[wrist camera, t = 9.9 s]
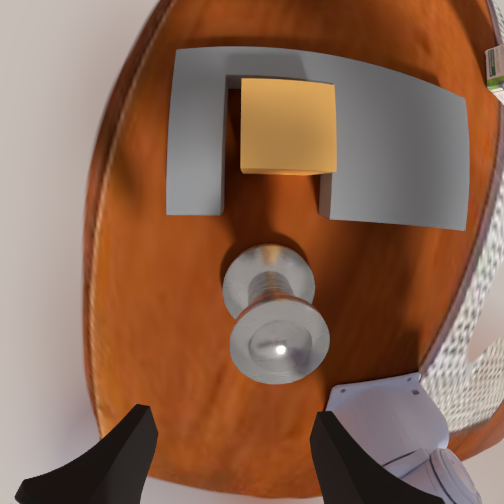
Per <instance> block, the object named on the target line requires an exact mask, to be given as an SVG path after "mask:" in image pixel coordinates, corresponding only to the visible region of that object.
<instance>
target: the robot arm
mask: <svg viewBox="0 0 504 504" xmlns="http://www.w3.org/2000/svg"><path fill="white" fill-rule="evenodd" d="M420 377H421V374H420V373H419V372H416V373H411V374H407V375H402V376H397V377H391V378H386V379H380V380H373V381H367V382H359V383H352V384H343V385H336V386H334V387H333V388H332V390H331V394H330V397H329V401H328V404H327V408H326V411H322V412H317V415H316V419H315V422H314V426H313V429H312V432H311V436H310V445H311V453H312V459H313V462H314V466H315V470H316V473H317V477H318V481H319V484H320V488H321V491H322V495H323V500H324V504H482V501H481V497H480V495H479V493H478V491H477V489H476V488H475V486H474V483H473V481H472V479H471V477H470V475H469V474H468V472H467V470H466V469H465V467H464V466H463V464H462V463H461V462H460V460H459V459H458V458H457V457H456V455H455V454H454V453H453V452H452V451H451V450H449V449H446V448H447V445H448V441H449V430H448V425H447V422H446V419H445V417H444V416H443V414H442V413H441V412H440V410H439V409H438V407H437V406H436V405H435V403H434V402H433V401H432V399H431V398H430V396H429V395H428V394H427V392H426V391H425V390H424V388H423V387H422V386H421V384H420V383H419V380H420ZM342 389H344V390H342ZM157 437H158V431H157V428H156V425H155V422H154V419H153V415H152V412H151V409H150V406H146V405H140V404H136V405H135V406H134V407H133V408H132V409H131V410H130V412H129V413H128V414H127V415H126V416H125V417H124V418H123V419H122V420H121V421H120V422H119V423H118V424H117V425H116V426H115V427H114V428H113V429H112V430H111V431H110V432H109V433H108V434H107V435H106V436H105V437H104V438H103V439H102V440H100V441H99V442H98V443H97V444H96V445H95V446H93V447H92V448H91V449H89V450H88V451H87V452H85V453H84V454H83V455H81V456H80V457H78V458H76V459H75V460H73V461H71V462H70V463H68V464H66V465H64V466H62V467H60V468H58V469H55V470H53V471H51V472H48V473H46V474H43V475H40V476H37V477H33V478H29V479H25V480H24V481H23V482H22V484H21V486H20V487H19V489H18V491H17V493H16V495H15V500H16V501H17V502H19V503H20V504H140V498H141V493H142V490H143V486H144V483H145V480H146V477H147V474H148V471H149V468H150V465H151V462H152V459H153V456H154V453H155V448H156V443H157Z"/></svg>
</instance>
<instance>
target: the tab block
mask: <svg viewBox="0 0 504 504" xmlns="http://www.w3.org/2000/svg"><path fill="white" fill-rule="evenodd" d="M240 168H241V171H242V173H243V174H283V175H314V174H323V173H332V172H336V169H337V139H336V104H335V85H331V84H324V83H315V82H306V81H295V80H281V79H257V78H242V86H241V163H240Z"/></svg>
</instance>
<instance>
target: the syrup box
mask: <svg viewBox="0 0 504 504" xmlns="http://www.w3.org/2000/svg"><path fill="white" fill-rule="evenodd" d="M485 55H486V69H487V88H488V89H489V90H490V91H491V92H492V93H493V94H494V95H495V96H496V97H497V98H498V99H499V100H500V102H501V103H502V104H503V105H504V44H502V45H499V46H497V47H493V48H491V49H488V50H486V51H485Z"/></svg>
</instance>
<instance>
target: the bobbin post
mask: <svg viewBox="0 0 504 504" xmlns="http://www.w3.org/2000/svg"><path fill="white" fill-rule="evenodd" d="M314 293H315V281H314V277H313V274H312V271H311V269H310V267H309V266H308V264H307V263H306V261H305V260H304V259H303V258H302V257H301V256H300V255H299V254H298V253H297V252H296V251H294V250H293V249H291V248H289V247H286V246H284V245H280V244H273V243H265V244H259V245H255V246H252V247H250V248H248V249H246V250H244V251H243V252H241V253H240V254H239V255H237V256H236V258H235V259H234V260H233V261H232V262H231V264H230V265H229V267H228V269H227V271H226V274H225V278H224V282H223V298H224V302H225V305H226V307H227V309H228V311H229V313H230V314H231V315H232V316H233V318H234V319H235V322H234V324H233V326H232V330H231V335H230V346H229V347H230V354H231V358H232V360H233V362H234V364H235V365H236V367H237V368H238V369H239V370H240V371H241V372H242V373H243V374H244V375H246V376H247V377H249V378H251V379H253V380H255V381H258V382H262V383H266V384H285V383H290V382H293V381H296V380H299V379H301V378H303V377H305V376H307V375H308V374H310V373H311V372H313V371H314V370H315V369H316V368H317V367H318V366H319V365H320V364H321V362H322V361H323V360H324V358H325V356H326V354H327V352H328V348H329V343H330V335H329V330H328V327H327V325H326V323H325V321H324V319H323V317H322V315H321V314H320V312H319V311H318V310H317V309H316V308H315V307H314V306H313V305H312V301H313V298H314Z"/></svg>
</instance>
